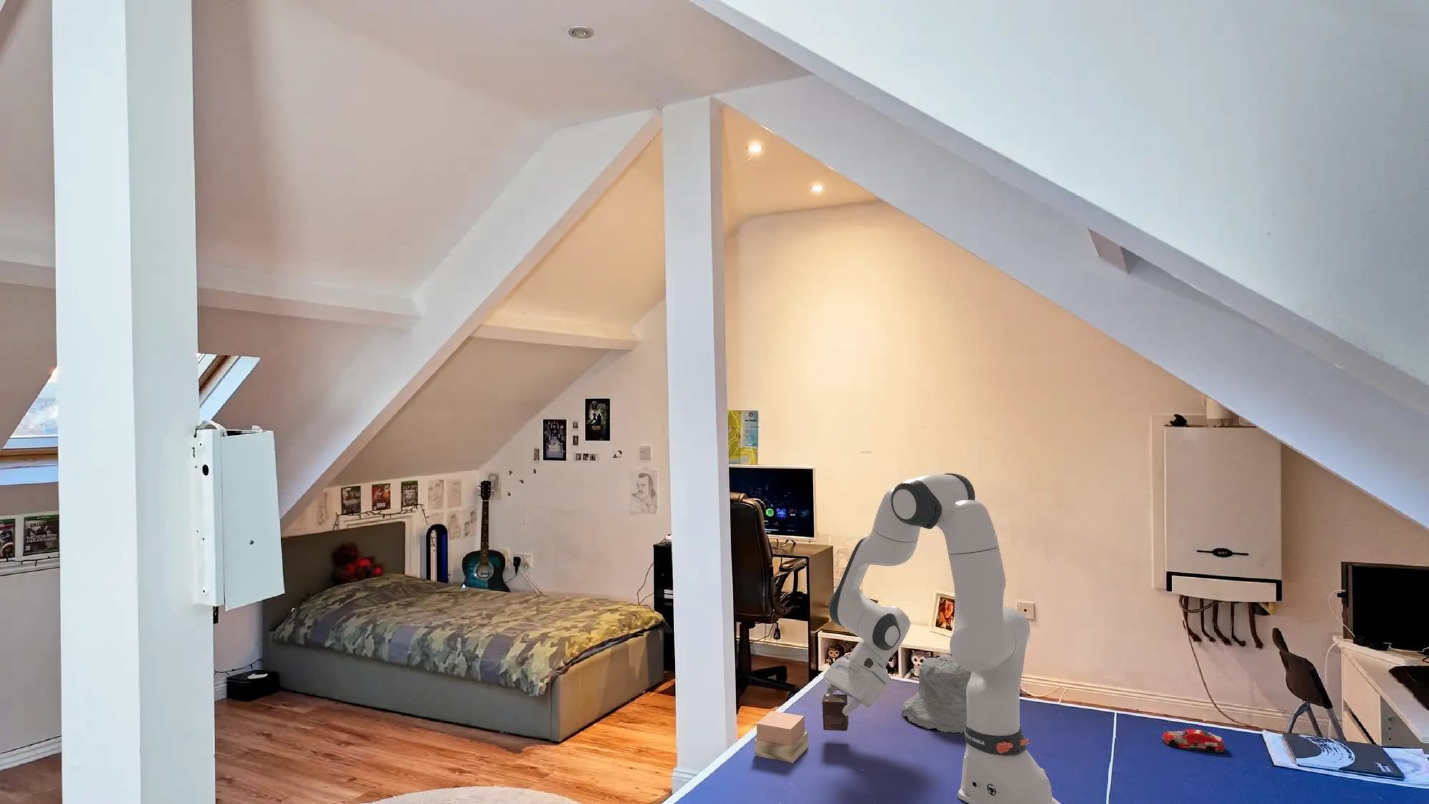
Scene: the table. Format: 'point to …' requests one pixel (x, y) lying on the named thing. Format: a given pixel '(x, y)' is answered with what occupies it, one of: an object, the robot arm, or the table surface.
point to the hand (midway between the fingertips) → (833, 708)
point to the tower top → (780, 728)
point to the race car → (1194, 740)
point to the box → (834, 712)
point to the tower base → (782, 749)
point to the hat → (940, 696)
